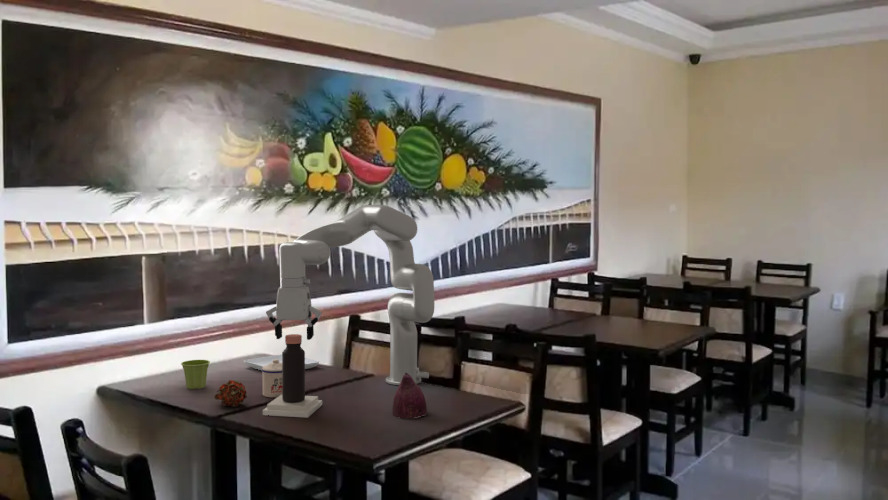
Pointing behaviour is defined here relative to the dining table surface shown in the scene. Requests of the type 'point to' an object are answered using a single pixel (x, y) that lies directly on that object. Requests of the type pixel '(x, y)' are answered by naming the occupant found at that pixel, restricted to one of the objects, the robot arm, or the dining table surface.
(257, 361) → the salad plate
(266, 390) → the teacup with lid
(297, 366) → the dark brown water bottle
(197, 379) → the plant pot
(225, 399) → the dragon fruit
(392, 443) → the dining table surface
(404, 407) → the vegetable
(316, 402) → the stand
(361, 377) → the dining table surface
